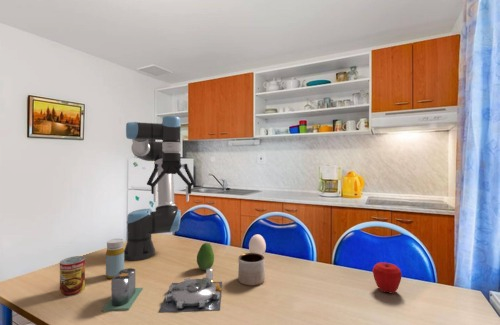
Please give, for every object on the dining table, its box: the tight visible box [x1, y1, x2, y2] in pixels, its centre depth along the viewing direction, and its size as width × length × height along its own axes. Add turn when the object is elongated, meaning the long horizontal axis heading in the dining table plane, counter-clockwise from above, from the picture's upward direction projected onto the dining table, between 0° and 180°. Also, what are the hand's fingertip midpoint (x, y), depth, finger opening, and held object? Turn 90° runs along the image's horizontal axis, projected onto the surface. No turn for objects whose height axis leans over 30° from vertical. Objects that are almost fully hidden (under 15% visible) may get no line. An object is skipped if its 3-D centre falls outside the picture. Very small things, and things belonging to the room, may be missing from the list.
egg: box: [248, 234, 267, 256], centre depth 136 cm, size 9×9×12 cm
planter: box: [237, 252, 266, 287], centre depth 109 cm, size 11×11×10 cm
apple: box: [372, 262, 403, 293], centre depth 101 cm, size 10×10×11 cm
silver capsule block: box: [110, 268, 136, 306], centre depth 94 cm, size 12×6×8 cm, turn 4°
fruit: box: [196, 242, 215, 271], centre depth 120 cm, size 8×8×12 cm
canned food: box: [59, 255, 86, 298], centre depth 100 cm, size 8×8×12 cm
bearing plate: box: [158, 281, 223, 313], centre depth 97 cm, size 20×20×1 cm
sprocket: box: [165, 267, 220, 308], centre depth 97 cm, size 20×20×8 cm
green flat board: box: [101, 287, 144, 312], centre depth 94 cm, size 14×8×1 cm, turn 4°
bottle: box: [105, 238, 125, 280], centre depth 113 cm, size 7×7×15 cm
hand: (171, 201), depth 114 cm, fingers open, 13 cm apart
